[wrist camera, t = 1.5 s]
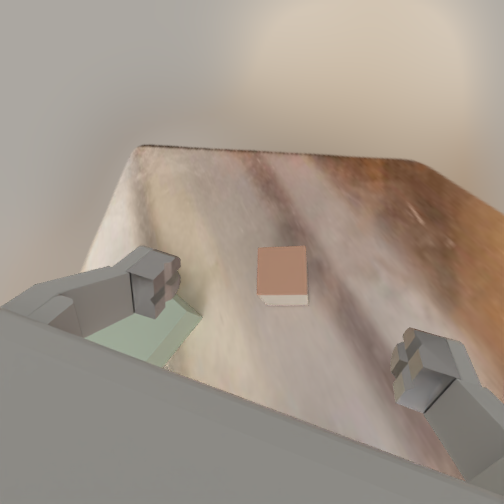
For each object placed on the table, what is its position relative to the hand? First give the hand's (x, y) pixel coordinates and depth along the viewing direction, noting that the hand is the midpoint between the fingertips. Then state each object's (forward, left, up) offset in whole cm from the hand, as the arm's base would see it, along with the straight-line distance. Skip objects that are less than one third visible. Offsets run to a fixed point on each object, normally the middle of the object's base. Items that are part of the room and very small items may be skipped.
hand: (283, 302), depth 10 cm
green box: (-12, +21, -32) cm, 40 cm away
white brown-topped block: (+5, +7, -32) cm, 33 cm away
